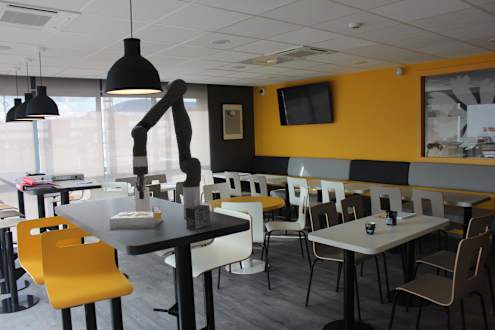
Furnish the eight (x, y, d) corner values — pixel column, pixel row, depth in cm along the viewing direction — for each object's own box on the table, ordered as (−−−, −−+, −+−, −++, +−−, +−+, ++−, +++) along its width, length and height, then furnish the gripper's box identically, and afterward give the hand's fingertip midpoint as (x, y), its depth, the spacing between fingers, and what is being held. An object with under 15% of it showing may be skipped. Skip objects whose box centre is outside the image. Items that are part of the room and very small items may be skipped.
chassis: (162, 220, 214) (161, 209, 214) (155, 227, 196) (154, 216, 196) (120, 221, 213) (120, 211, 213) (110, 228, 195) (109, 217, 195)
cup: (146, 216, 225) (145, 188, 224) (133, 216, 226) (131, 188, 225) (152, 214, 233) (151, 187, 232) (139, 214, 234) (138, 187, 233)
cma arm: (152, 211, 206) (152, 205, 206) (159, 211, 207) (159, 205, 206) (153, 219, 184) (153, 212, 184) (161, 219, 185) (161, 212, 185)
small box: (201, 225, 198) (201, 204, 198) (211, 226, 194) (210, 205, 194) (185, 229, 190) (185, 207, 190) (195, 230, 186) (194, 208, 186)
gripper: (136, 164, 209) (137, 197, 210) (129, 166, 196) (131, 201, 197) (150, 164, 210) (152, 197, 211) (144, 166, 196) (146, 200, 197)
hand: (141, 199), depth 204 cm, fingers closed
